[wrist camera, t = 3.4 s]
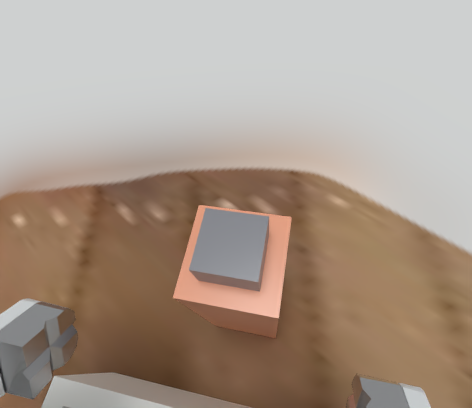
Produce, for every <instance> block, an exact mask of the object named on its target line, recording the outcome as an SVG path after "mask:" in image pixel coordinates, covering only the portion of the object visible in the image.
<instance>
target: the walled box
mask: <svg viewBox="0 0 472 408" xmlns="http://www.w3.org/2000/svg"><path fill="white" fill-rule="evenodd" d="M41 408H252V407H248V406H244V405H240V404H236V403H232V402H228V401H224V400H220V399H216V398H213V397H209V396H205V395H201V394H197V393H193V392H189V391H185V390H181V389H177V388H173V387H169V386H165V385H161V384H157V383H153V382H149V381H145V380H141V379H137V378H133V377H130V376H126V375H122V374H118V373H114V372H112V373H95V374H78V375H62V376H54V378H53V380H52V383H51V385H50V388H49V390H48V392H47V395H46V397H45V400H44V402H43V405H42V407H41Z"/></svg>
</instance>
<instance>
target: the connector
mask: <svg viewBox="0 0 472 408" xmlns="http://www.w3.org/2000/svg"><path fill="white" fill-rule="evenodd" d="M290 225H291V217H287V216H279V215H271V214H264V213H256V212H249V211H241V210H233V209H226V208H218V207H211V206H203V205H199V207H198V211H197V215H196V218H195V222H194V225H193V229H192V232H191V236H190V239H189V243H188V246H187V250H186V253H185V257H184V260H183V264H182V267H181V271H180V275H179V278H178V282H177V285H176V289H175V292H174V296H173V298H174V299H176V300H177V301H179V302H180V303H182V304H183V305H185V306H186V307H188V308H189V309H191V310H192V311H194V312H195V313H197V314H198V315H200V316H202V317H203V318H205V319H206V320H208V321H209V322H211V323H212V324H214V325H215V326H218V327H223V328H228V329H232V330H237V331H242V332H247V333H252V334H257V335H261V336H266V337H271V338H276V334H277V327H278V320H279V312H280V304H281V296H282V288H283V280H284V273H285V265H286V257H287V249H288V241H289V233H290Z"/></svg>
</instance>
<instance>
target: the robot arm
mask: <svg viewBox="0 0 472 408" xmlns="http://www.w3.org/2000/svg"><path fill="white" fill-rule="evenodd" d="M75 320H76V318H75V312H74V311H73V310H71V309H69V308H65V307H61V306H57V305H53V304H50V303H46V302H41V301H37V300H33V299H29V298H27V299H23V300H20V301H19V302H18V303H16V304H15V305H13V306H12V307H10V308H9V309H7V310H6V311H5V312H3V313H2V314H0V397H2V396H3V395H5V393H9V394H13V395H17V396H21V397H25V398H29V399H34V398H35V397H36V396H37V395H38V393H39V392H40V391H41V390H42V389H43V388H44V387H45V386H46V385H47V384H48V382H49V381H50V380H51V379H52V377H53V371H54V370H55V369H57V368H59V367H61V366H63V365H65V364H66V362H67V361H68V360H69V359H70V358H71V357H72V355H73V353H74V351H75V349H76V347H77V342H78V333H77V331H76V329H75V328H74V327H73V325H72V324H73V323H74V322H75ZM352 388H353V394H352V395H351V396H349V397H348V400H347V404H346V408H431V406H430V404H429V401H428V399H427V397H426V394H425V392H424V391H423V390H422V389H421V388H420V387H416V386H411V385H407V384H402V383H397V382H393V381H388V380H384V379H379V378H374V377H370V376H365V375H361V374H356V375H355V376H354V379H353V382H352Z"/></svg>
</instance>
